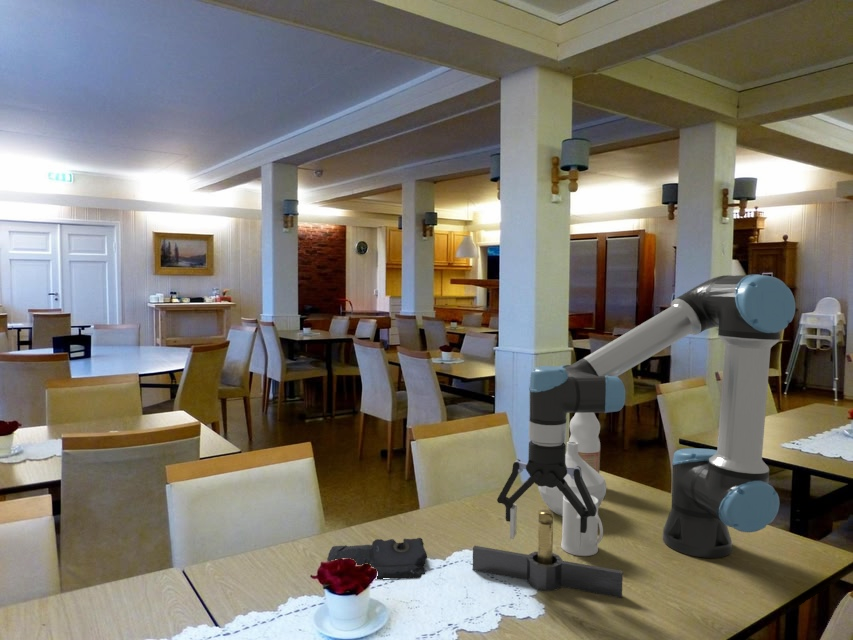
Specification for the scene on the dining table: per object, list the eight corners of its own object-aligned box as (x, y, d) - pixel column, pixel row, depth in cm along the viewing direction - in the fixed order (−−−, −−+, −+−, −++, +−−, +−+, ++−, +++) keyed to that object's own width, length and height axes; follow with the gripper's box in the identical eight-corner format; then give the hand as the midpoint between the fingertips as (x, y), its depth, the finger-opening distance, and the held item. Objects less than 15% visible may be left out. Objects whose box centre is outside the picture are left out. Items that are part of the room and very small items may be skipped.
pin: (552, 580, 125) (554, 510, 124) (550, 586, 123) (552, 516, 122) (538, 577, 127) (540, 508, 126) (535, 584, 124) (537, 513, 123)
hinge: (622, 588, 122) (623, 564, 122) (620, 605, 116) (621, 580, 115) (477, 561, 133) (478, 540, 133) (468, 576, 127) (468, 553, 127)
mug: (614, 559, 135) (615, 508, 134) (582, 565, 132) (583, 512, 132) (584, 538, 146) (585, 490, 145) (554, 543, 143) (555, 494, 143)
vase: (614, 525, 154) (616, 452, 153) (543, 524, 155) (545, 451, 154) (595, 499, 173) (596, 434, 172) (532, 498, 173) (533, 433, 172)
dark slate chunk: (329, 552, 139) (328, 532, 139) (422, 548, 141) (422, 528, 141) (324, 585, 124) (324, 563, 123) (429, 580, 126) (429, 558, 126)
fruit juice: (584, 494, 176) (587, 401, 175) (561, 485, 184) (563, 396, 182) (605, 488, 182) (608, 398, 180) (581, 480, 189) (583, 393, 188)
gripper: (611, 443, 122) (608, 543, 123) (493, 431, 131) (491, 525, 132) (608, 452, 115) (605, 559, 116) (484, 439, 124) (482, 539, 125)
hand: (545, 541), depth 124 cm, fingers open, 13 cm apart
